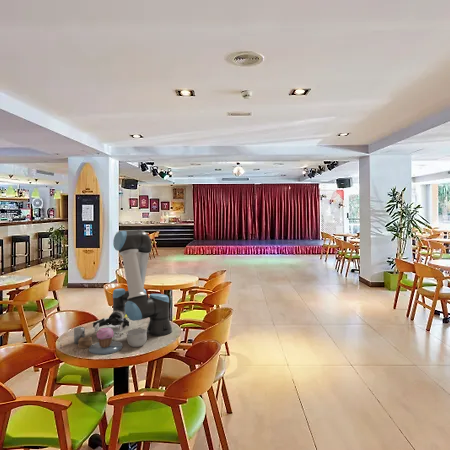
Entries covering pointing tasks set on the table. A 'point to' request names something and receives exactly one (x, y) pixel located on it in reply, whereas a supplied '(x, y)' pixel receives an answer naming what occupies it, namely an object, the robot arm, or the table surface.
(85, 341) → the walnut block
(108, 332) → the cupcake
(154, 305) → the robot arm
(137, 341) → the teacup
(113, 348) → the plate
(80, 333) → the metal tin
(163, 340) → the table surface
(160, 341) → the table surface
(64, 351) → the table surface
